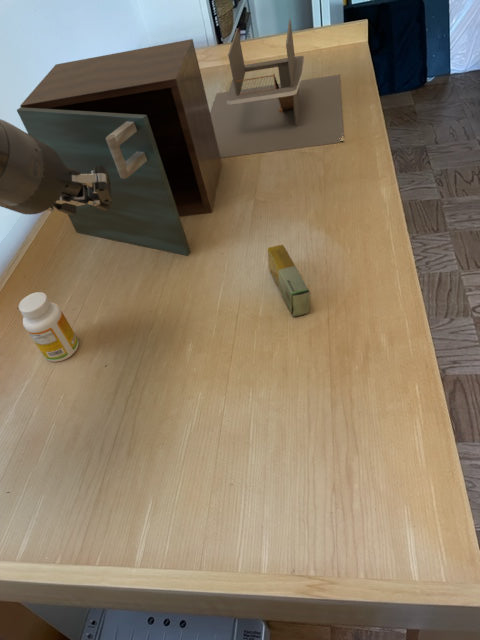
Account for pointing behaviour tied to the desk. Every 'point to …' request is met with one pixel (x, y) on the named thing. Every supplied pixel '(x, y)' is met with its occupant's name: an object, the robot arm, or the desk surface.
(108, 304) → the desk surface
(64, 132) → the door
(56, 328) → the supplement bottle
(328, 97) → the grey brown stand-shaped piece
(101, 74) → the cupboard
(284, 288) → the medication box
